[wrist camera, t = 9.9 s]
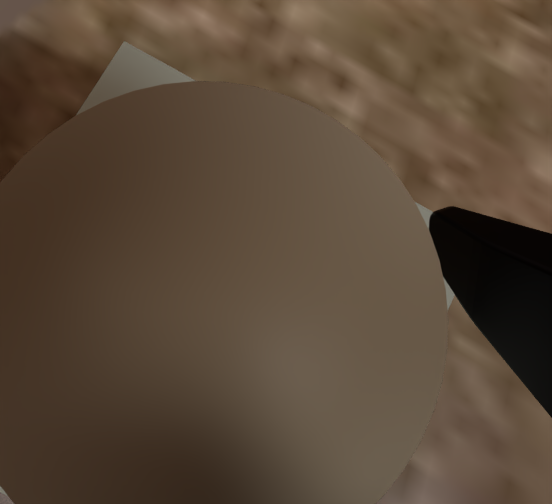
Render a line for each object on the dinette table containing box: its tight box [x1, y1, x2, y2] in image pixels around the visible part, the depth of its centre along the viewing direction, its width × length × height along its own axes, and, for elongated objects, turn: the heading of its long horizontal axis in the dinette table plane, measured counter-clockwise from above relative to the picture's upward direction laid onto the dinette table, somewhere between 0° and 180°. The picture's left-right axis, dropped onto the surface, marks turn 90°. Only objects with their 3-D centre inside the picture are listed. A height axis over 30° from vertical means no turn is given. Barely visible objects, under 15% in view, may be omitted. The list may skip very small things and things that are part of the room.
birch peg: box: [0, 81, 448, 504], centre depth 11 cm, size 4×4×14 cm
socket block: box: [0, 41, 455, 496], centre depth 16 cm, size 12×12×4 cm
